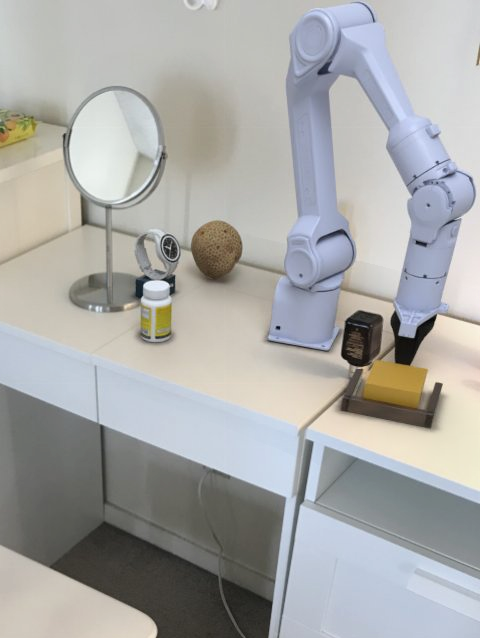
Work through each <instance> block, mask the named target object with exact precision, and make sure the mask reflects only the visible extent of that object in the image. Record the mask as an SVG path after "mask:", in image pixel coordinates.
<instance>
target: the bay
mask: <svg viewBox="0 0 480 638" xmlns="http://www.w3.org/2000/svg"><path fill="white" fill-rule="evenodd" d="M363 375H364V368H361V369H356V368H355V369H354V372H353V374H352V377H351V379H350V381H349V383H348V386H347V387H346V390H345V392H344V394H343V396H342V399H341V406H340V411H342V412H343V411H344V412H348V413H352V414H359V415H363V416H367V417H373V418H378V419H382V420H388V421H393V422H398V423H403V424H407V425H413V426H416V427H417V426H418V427H423V428H427V429H431V428H432V425H433V422H434V418H435V414H436V412H437V411H436V410H437V407H438V403H439V400H440V397H441V393H442V389H443V386H444V383H443V382H437V381H436V382H434V385H433V389H432V392H431V396H430V398H429V402H428V406H427V408H426V409H423V408H419V407H418V408H413V407H408V406H403V405H398V404H393V403H388V402H382V401H377V400H372V399H367V398H362V397H363V396H356V394H357V392H358V389H359V387H360V385H361V383H362V380H363Z"/></svg>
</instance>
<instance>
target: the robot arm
mask: <svg viewBox="0 0 480 638" xmlns="http://www.w3.org/2000/svg"><path fill="white" fill-rule="evenodd" d="M288 40H289V50H290V59H289V62H288V63H289V64H288V68H287V73H286V78H285V94H286V104H287V115H288V127H289V137H290V146H291V148H290V149H291V157H292V169H293V179H294V189H295V190H294V191H295V200H296V210H297V219H296V221H295V223H294V224H293V225H292V227H291V229H290V230H289V232H288V234H287V236H286V245H287V246H286V252H285V256H284V261H283V268H284V272H285V275H284V276H283V275H281V277H279V279H278V281H277V284H276V287H275V290H274V294H273V300H272V306H271V307H272V308H271V317H270V325H269V335H268V336H267V340H268V341H271V342H276V343H283V344H288V345H294V346H299V347H305V348H310V349H315V350H322V351H329V350H330V349H331V347H332V345H333V344H334V342H335V340H336V338H337V336H338V334H339V332H340V329H341V328H340V326H336V319H337V313H338V306H339V301H340V297H341V289H342V283H343V280H344V279H345V273H346V272H347V271H348V270H349V269H351V267H352V266H354V264H355V262H356V258H357V245H356V242H355V240H354V238H353V236H352V233H351V230H350V222H349V220H348V218H346V217H345V215H343V214H342V213H340V211H339V210H338V199H337V198H338V197H337V184H336V170H335V158H334V155H335V154H334V143H333V131H332V119H331V118H332V117H331V116H332V115H331V102H330V101H331V100H330V89H331V88H332V86H333V85H334V83H336V81H337V80H338V78H339V77H340V76H344V77H347V78H348V77H349V78H352V79H355V80H357V82H358V84H359V86H360V87H361V89H362V90H363V92H364V94H365V95H366V97H367V98H368V101H369V102H370V104H371V106H373V108H374V110H375V111H376V113H377V115H378V117H379V118H380V119H381V121H382V123H383V124H384V126H385V128H386V130H387V131H388V136H387V140H386V143H385V149H386V151H387V153H388V156H389V157H390V159H391V161H392V163H393V164H394V166H395V168H396V170H397V172H398V174H399V175H400V178H401V180H402V182H403V184H404V186H405V187H406V189H407V191H408V193H409V195H410V196H411V197H410V198H407V202H406V209H407V214H408V217H409V219H410V223H411V224H410V230H409V237H408V241H407V242H408V243H407V246H406V252H405V256H404V260H403V265H402V269H401V274H400V279H399V283H398V286H397V292H396V295H395V297H394V298H393V302H392V306H393V309H394V311H393V313H392V315H391V316H390V319H389V321H390V327H391V329H392V333H393V337H394V363H397V364H402V365H408V366H412V365H411V364H413V362H414V359H415V358H416V356H417V353H418V351H419V348H420V346H421V344H422V343H423V341H424V340H425V338H426V337H427V336H428V335H429V334H430V333H431V331H432V330H433V329H434V327H435V323H436V321H437V317H438V314H443V315H444V314H447V313H448V311H449V308H450V304H449V303H447V302H442V298H443V294H444V290H445V286H446V283H447V278H448V274H449V271H450V268H451V264H452V260H453V256H454V251H455V248H456V244H457V240H458V237H459V236H458V235H459V232H460V228H461V225H462V220H463V219H462V217H463V216H464V215H466V214H467V213H468V212H470V210H471V209H472V208H473V206H474V205H475V202H476V198H477V188H476V184H475V182H474V177H473V176H472V175H471V174H470V173H469V172H468V171H467V170H464V169H460V168H459V167H458V166H457V163H456V162H455V161H452V159H451V157H450V154H449V152H448V151H447V149H446V147H445V146H444V144H443V142H442V140H441V138H440V136H439V135H440V134H442V130H441V129H440V126H439V124H438V123H434V124H433V123H432V120H431V119H430V118H428V117H424V116H421V115H417V114H416V113H415V111H414V109H413V108H414V107H413V106H412V104H411V101H410V99H409V97H408V95H407V92H406V90H405V87H404V86H403V83H402V81H401V78H400V75H399V74H398V71H397V70H396V67H395V65H394V63H393V60H392V58H391V55H390V54H389V51H388V49H387V45H386V29H385V27H384V26H383V25H382V23H381V22H380V21H379V20H378V17H377V13H376V11H375V9H374V8H373V6H372V5H371V4H369V3H368V2H365V1H363V0H354V1H352V2H350V3H346V4H341V5H334V6H329V7H324V8H322V7H315V8H312V9H309V10H307V11H306V12H305V13H304V14H303V15H302V16H301V17H300V18H299V21H297V23H296V25H294V28H293V29H292V31H291V32H290V33H289V36H288Z"/></svg>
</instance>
